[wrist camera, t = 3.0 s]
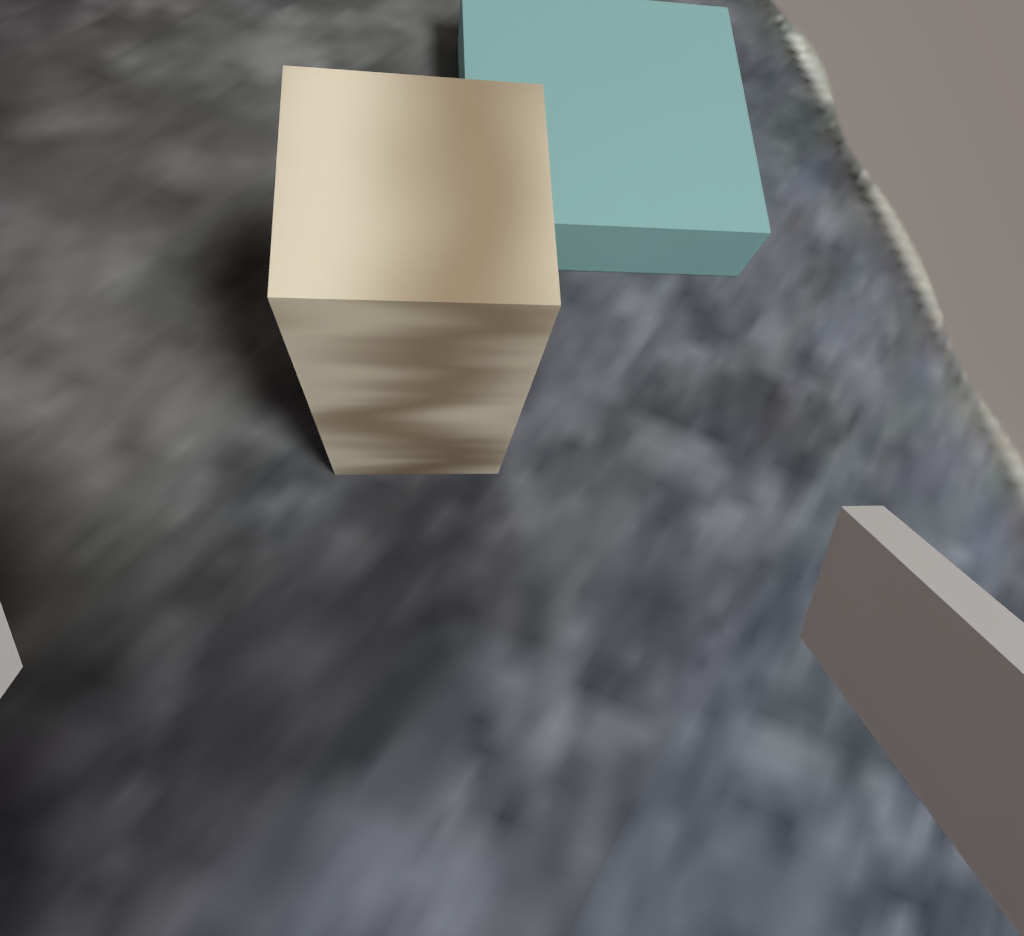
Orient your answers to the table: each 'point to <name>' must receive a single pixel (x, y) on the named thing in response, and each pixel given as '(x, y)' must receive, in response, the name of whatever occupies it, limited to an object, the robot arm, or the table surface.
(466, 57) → the teal board
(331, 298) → the pale wooden block
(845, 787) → the table surface
